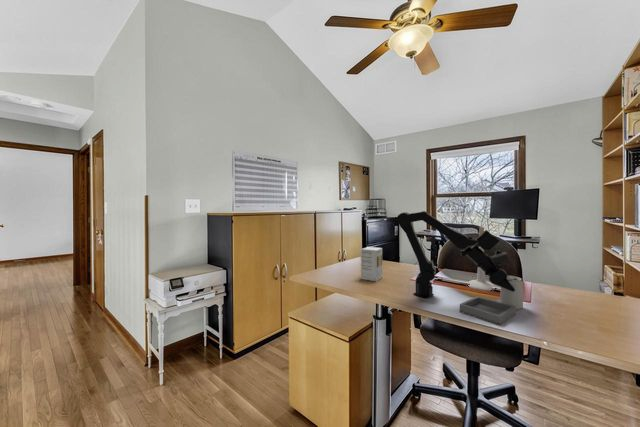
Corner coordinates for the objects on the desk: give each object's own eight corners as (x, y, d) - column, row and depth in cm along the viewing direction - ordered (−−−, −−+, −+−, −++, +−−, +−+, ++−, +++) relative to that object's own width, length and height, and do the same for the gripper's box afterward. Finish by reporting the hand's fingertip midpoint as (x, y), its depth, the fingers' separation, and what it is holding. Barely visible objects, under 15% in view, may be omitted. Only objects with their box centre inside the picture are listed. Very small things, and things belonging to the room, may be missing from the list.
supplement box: (376, 281, 144) (376, 250, 143) (360, 279, 149) (360, 249, 148) (382, 277, 152) (382, 247, 151) (367, 275, 157) (367, 246, 156)
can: (527, 311, 104) (527, 280, 103) (505, 309, 105) (505, 279, 105) (517, 303, 111) (517, 275, 111) (496, 302, 113) (497, 274, 112)
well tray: (459, 311, 104) (459, 304, 104) (476, 303, 112) (476, 296, 112) (500, 325, 93) (500, 316, 93) (516, 314, 101) (516, 306, 101)
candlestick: (461, 282, 140) (462, 225, 139) (486, 282, 140) (487, 224, 138) (474, 290, 127) (475, 227, 126) (502, 290, 127) (503, 227, 125)
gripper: (500, 249, 101) (536, 281, 97) (492, 241, 118) (523, 268, 114) (475, 268, 105) (509, 299, 101) (472, 258, 122) (501, 285, 117)
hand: (511, 287), depth 108 cm, fingers open, 9 cm apart
